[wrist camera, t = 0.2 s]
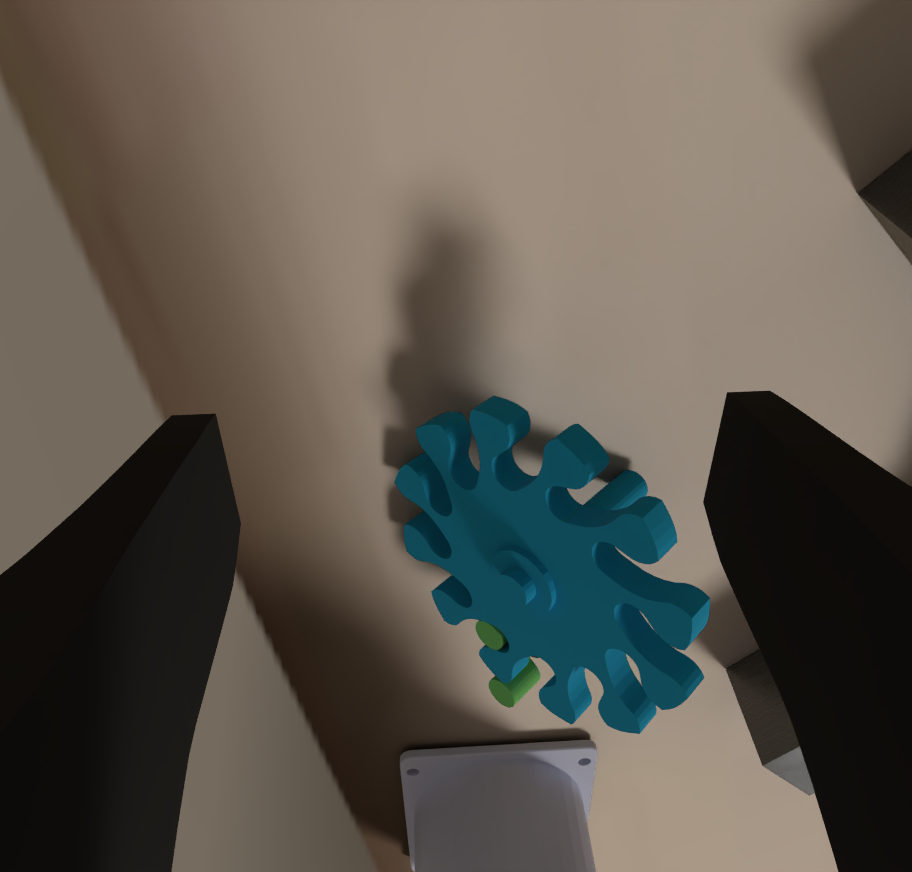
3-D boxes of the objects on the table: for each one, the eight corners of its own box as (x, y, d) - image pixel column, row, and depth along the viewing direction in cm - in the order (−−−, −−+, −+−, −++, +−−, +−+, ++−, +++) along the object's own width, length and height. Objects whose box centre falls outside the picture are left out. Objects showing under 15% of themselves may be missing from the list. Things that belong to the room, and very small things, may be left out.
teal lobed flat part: (398, 346, 20) (750, 605, 16) (545, 270, 24) (865, 467, 20) (365, 601, 28) (599, 821, 24) (480, 514, 32) (701, 693, 27)
